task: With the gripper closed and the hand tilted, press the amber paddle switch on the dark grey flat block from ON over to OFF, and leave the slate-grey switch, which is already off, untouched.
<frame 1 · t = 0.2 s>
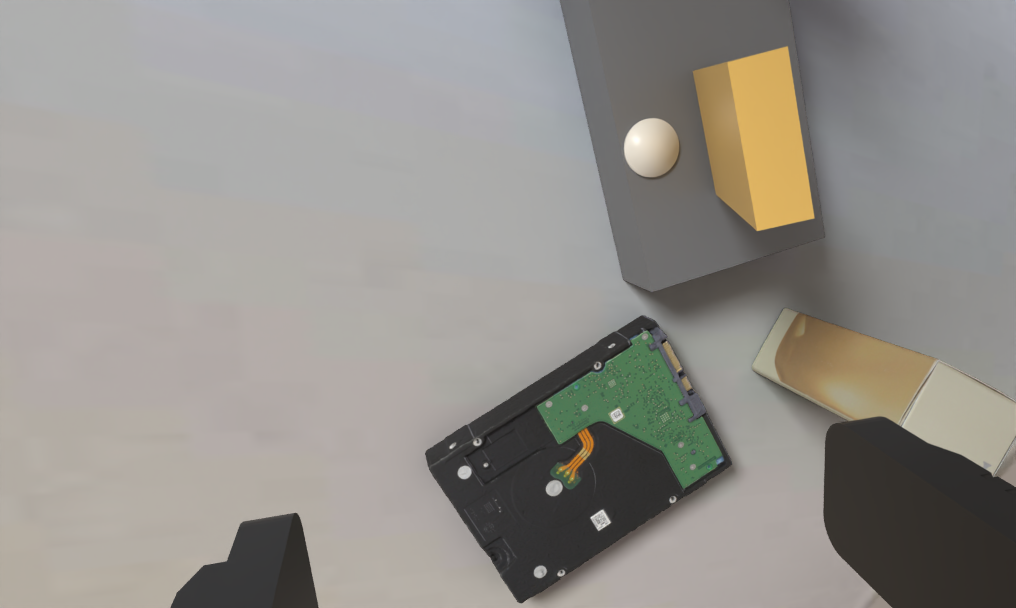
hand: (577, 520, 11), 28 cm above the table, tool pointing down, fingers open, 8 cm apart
skincare box: (800, 355, 44), on the table
disk drive: (573, 446, 43), on the table
amber switch: (743, 133, 30), point 9 cm above the table, hinge at 20.0°
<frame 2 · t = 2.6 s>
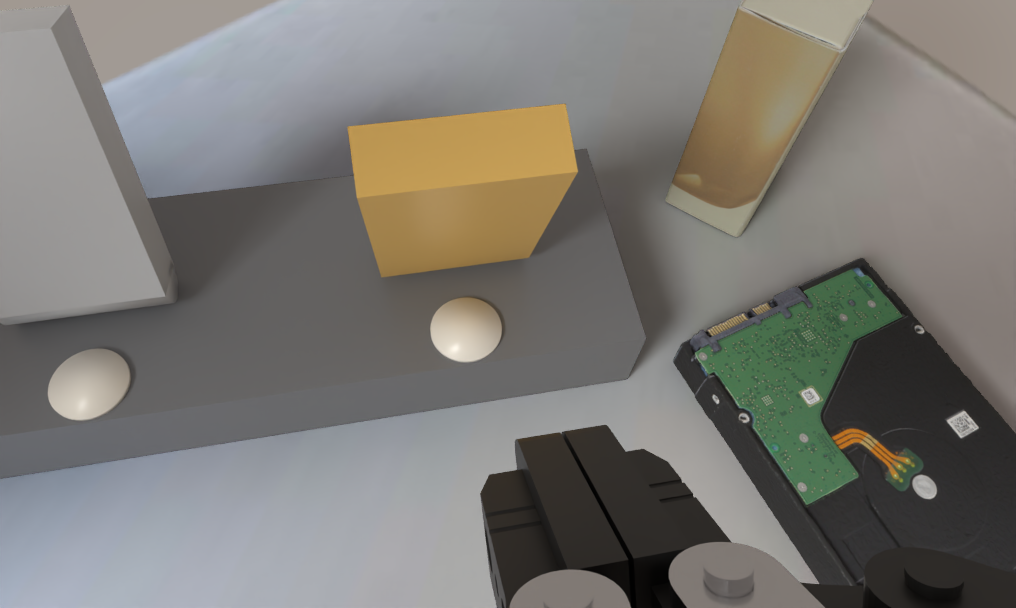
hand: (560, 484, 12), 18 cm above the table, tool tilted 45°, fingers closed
grey switch: (34, 187, 25), point 9 cm above the table, hinge at -20.0°
dark grey flat block: (301, 326, 33), on the table
skincare box: (721, 186, 38), on the table
disk drive: (854, 458, 32), on the table
amber switch: (456, 210, 25), point 9 cm above the table, hinge at 20.0°
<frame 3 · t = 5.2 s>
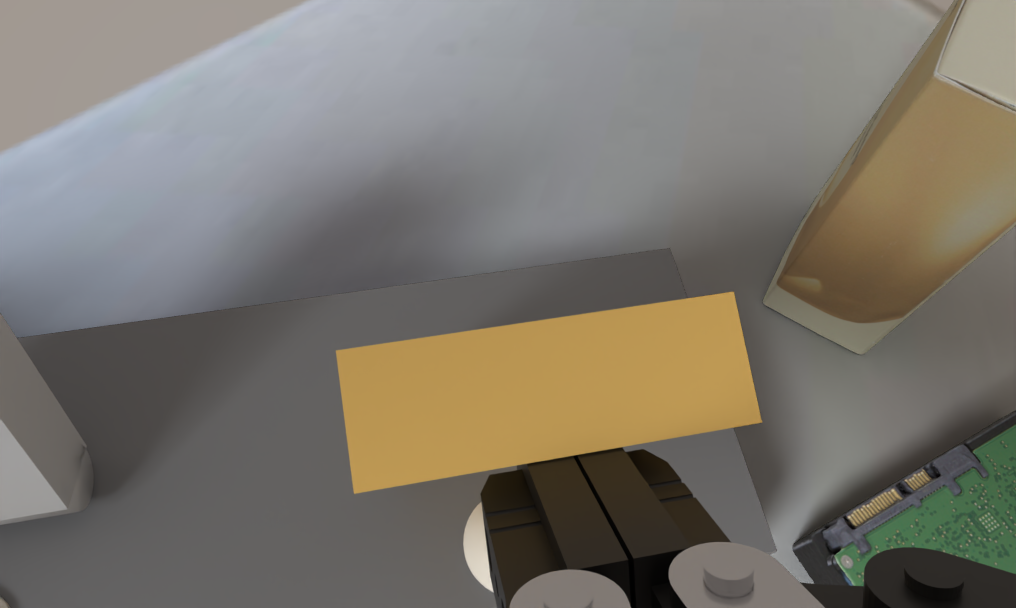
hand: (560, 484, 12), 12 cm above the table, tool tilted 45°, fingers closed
dark grey flat block: (278, 497, 24), on the table
skincare box: (832, 280, 29), on the table
amber switch: (511, 402, 16), point 9 cm above the table, hinge at 19.3°, touching gripper
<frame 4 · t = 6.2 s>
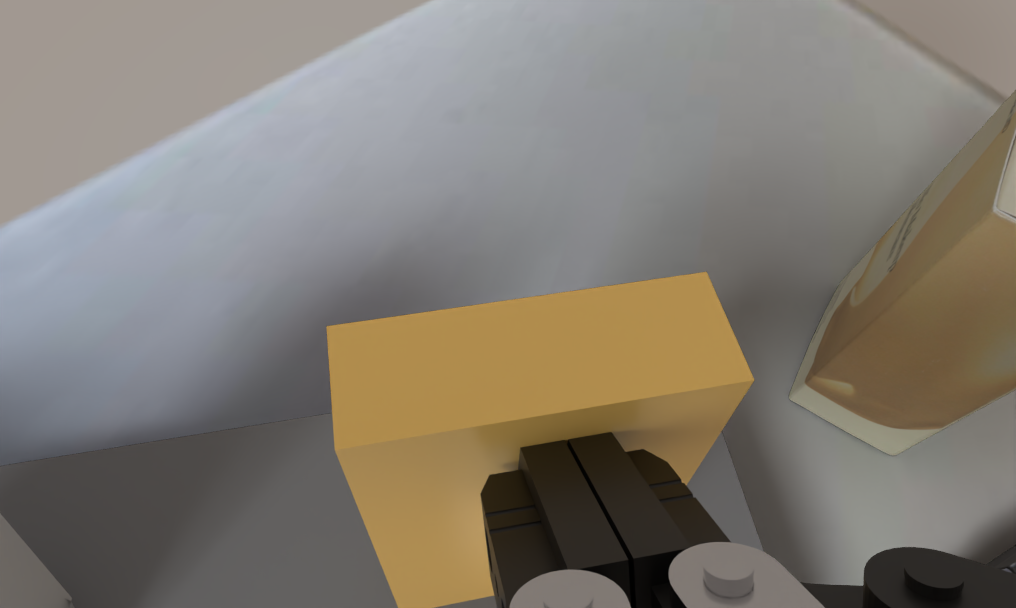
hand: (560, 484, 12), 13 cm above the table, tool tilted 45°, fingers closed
skincare box: (861, 370, 28), on the table
amber switch: (520, 487, 15), point 10 cm above the table, hinge at -5.7°, touching gripper
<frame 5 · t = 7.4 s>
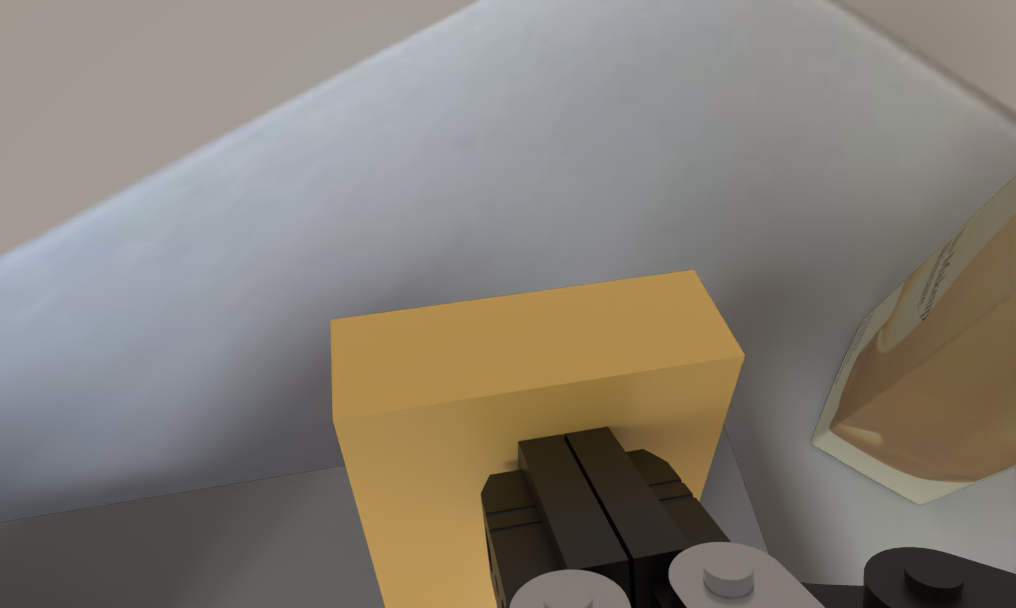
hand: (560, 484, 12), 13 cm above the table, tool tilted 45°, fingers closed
skincare box: (886, 412, 27), on the table
amber switch: (528, 524, 15), point 9 cm above the table, hinge at -17.9°, touching gripper
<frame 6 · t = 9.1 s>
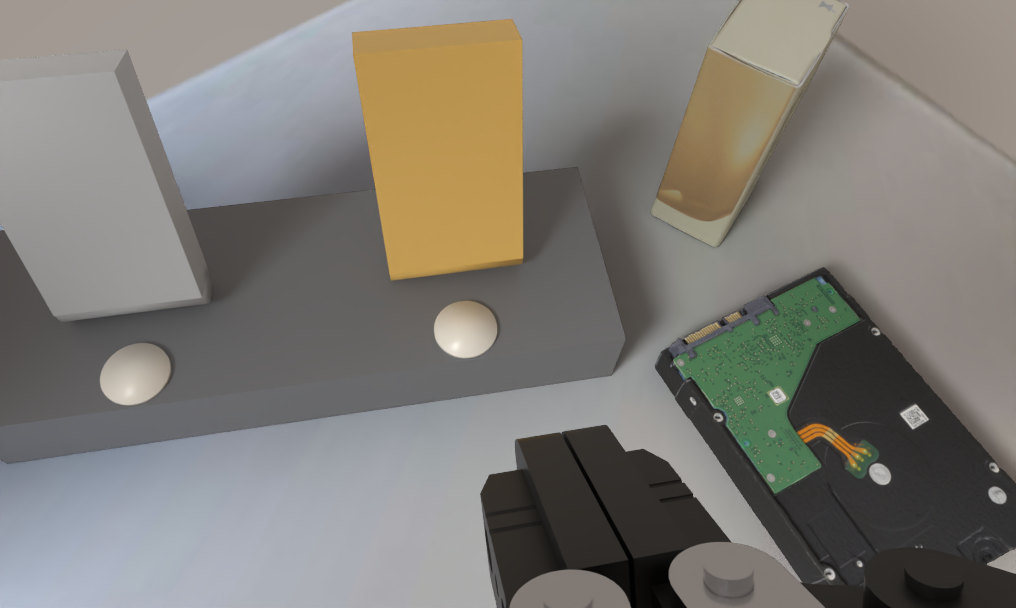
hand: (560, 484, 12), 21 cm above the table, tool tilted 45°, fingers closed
grey switch: (92, 202, 28), point 9 cm above the table, hinge at -20.0°
dark grey flat block: (319, 324, 36), on the table
skincare box: (703, 200, 42), on the table
disk drive: (820, 450, 35), on the table
amber switch: (447, 166, 30), point 9 cm above the table, hinge at -18.3°
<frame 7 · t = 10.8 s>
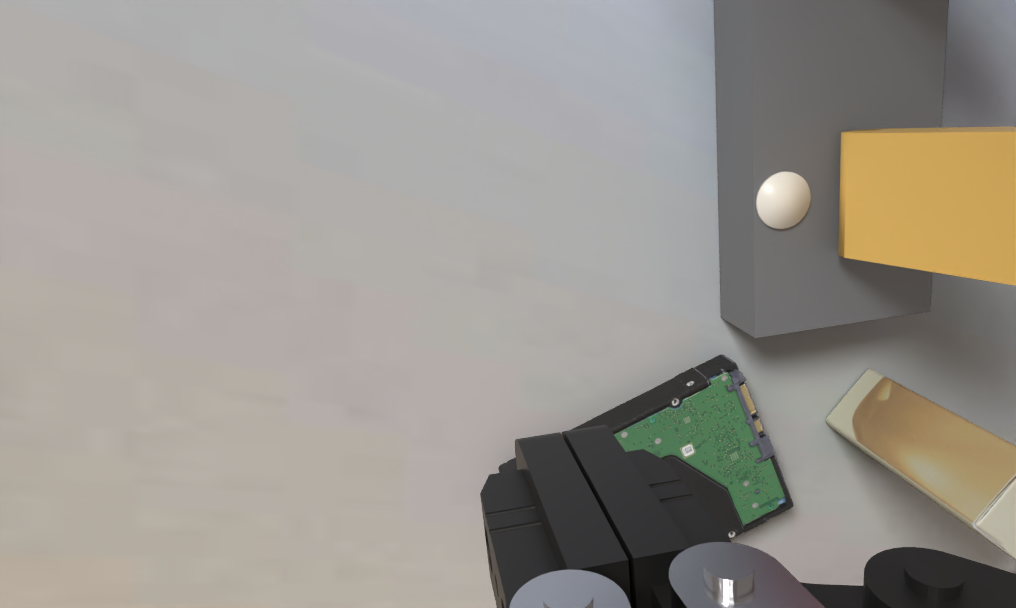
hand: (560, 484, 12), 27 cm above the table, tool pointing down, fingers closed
dark grey flat block: (804, 51, 38), on the table
skincare box: (874, 416, 45), on the table
disk drive: (638, 472, 44), on the table
amber switch: (952, 200, 31), point 9 cm above the table, hinge at -18.3°
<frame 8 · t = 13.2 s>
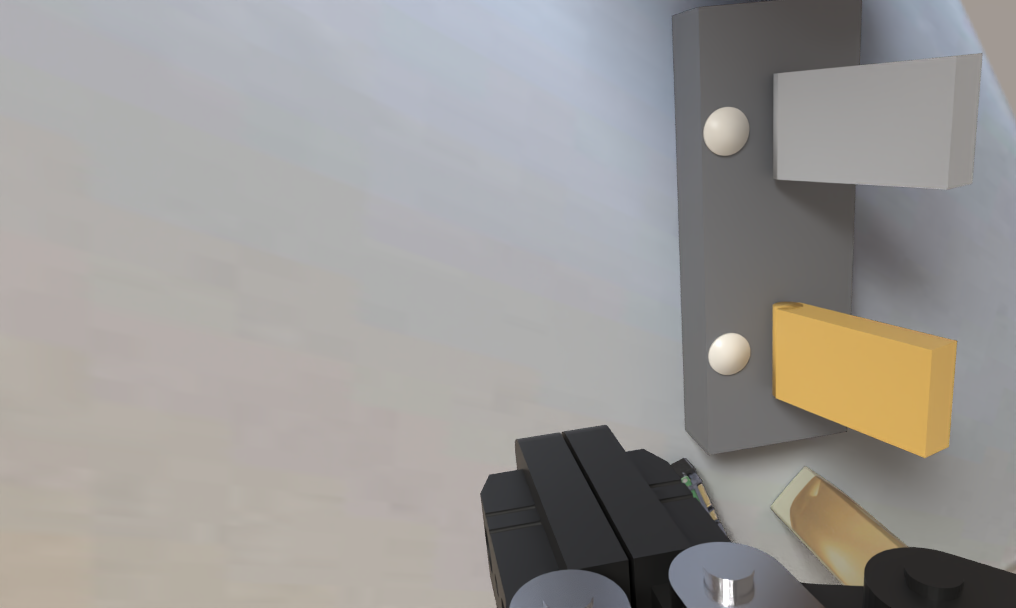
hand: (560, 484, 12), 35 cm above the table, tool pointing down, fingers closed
grey switch: (859, 124, 38), point 9 cm above the table, hinge at -20.0°
dark grey flat block: (749, 230, 49), on the table
skincare box: (810, 502, 56), on the table
disk drive: (620, 549, 55), on the table
amber switch: (849, 370, 42), point 9 cm above the table, hinge at -18.3°
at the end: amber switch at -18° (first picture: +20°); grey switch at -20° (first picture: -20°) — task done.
